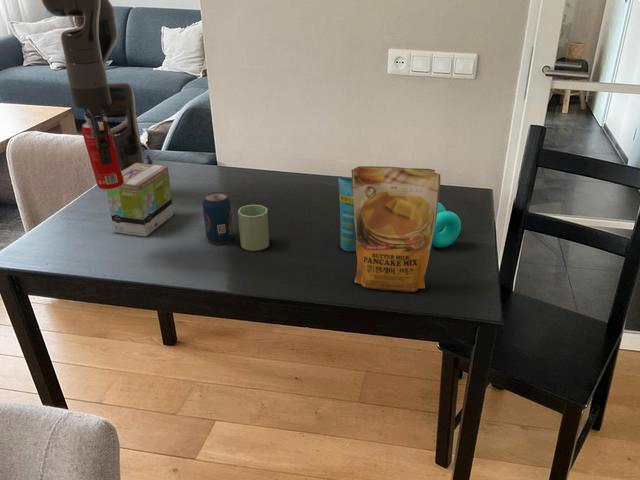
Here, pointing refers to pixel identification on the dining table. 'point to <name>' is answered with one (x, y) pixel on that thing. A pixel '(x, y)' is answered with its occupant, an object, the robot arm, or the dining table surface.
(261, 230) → the tumbler
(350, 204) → the tube
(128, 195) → the tea box
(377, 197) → the pancake mix bag
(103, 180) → the beverage can
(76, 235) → the dining table surface
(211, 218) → the soda can
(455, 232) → the donuts
